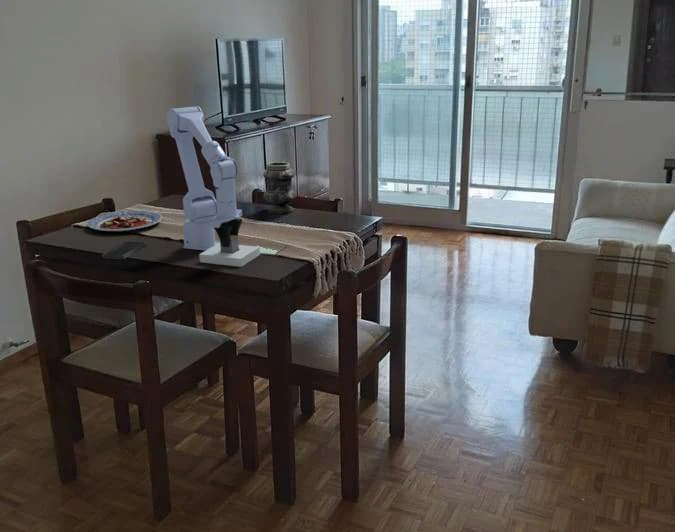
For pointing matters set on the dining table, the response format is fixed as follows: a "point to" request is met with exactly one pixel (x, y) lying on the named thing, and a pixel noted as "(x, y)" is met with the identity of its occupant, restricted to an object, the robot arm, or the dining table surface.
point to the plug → (231, 245)
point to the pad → (267, 251)
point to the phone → (123, 250)
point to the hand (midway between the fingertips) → (229, 244)
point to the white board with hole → (230, 256)
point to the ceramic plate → (123, 221)
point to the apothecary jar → (279, 186)
